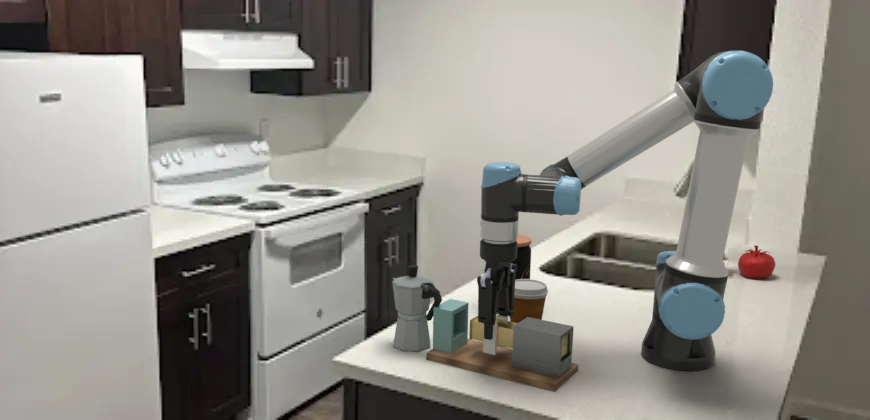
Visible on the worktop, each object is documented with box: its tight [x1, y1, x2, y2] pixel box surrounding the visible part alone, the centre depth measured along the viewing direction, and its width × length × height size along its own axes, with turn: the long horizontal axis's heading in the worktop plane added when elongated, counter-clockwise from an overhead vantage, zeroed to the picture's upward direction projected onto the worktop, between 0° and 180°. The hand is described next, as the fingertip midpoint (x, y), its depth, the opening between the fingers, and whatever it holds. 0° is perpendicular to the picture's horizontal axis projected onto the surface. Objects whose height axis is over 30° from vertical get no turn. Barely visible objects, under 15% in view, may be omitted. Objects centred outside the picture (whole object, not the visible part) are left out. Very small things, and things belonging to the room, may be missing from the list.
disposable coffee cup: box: [509, 278, 549, 323], centre depth 184 cm, size 10×10×12 cm
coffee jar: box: [492, 233, 532, 286], centre depth 202 cm, size 11×11×18 cm
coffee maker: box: [392, 264, 443, 353], centre depth 175 cm, size 15×9×18 cm, turn 45°
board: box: [425, 338, 579, 393], centre depth 167 cm, size 29×12×2 cm, turn 59°
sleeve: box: [512, 317, 574, 379], centre depth 162 cm, size 10×7×9 cm, turn 59°
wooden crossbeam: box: [468, 315, 568, 358], centre depth 164 cm, size 20×4×4 cm, turn 59°
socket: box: [432, 298, 470, 353], centre depth 172 cm, size 4×7×9 cm, turn 149°
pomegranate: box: [737, 244, 776, 280], centre depth 235 cm, size 10×10×9 cm
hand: (495, 349), depth 168 cm, fingers closed on wooden crossbeam, 4 cm apart
